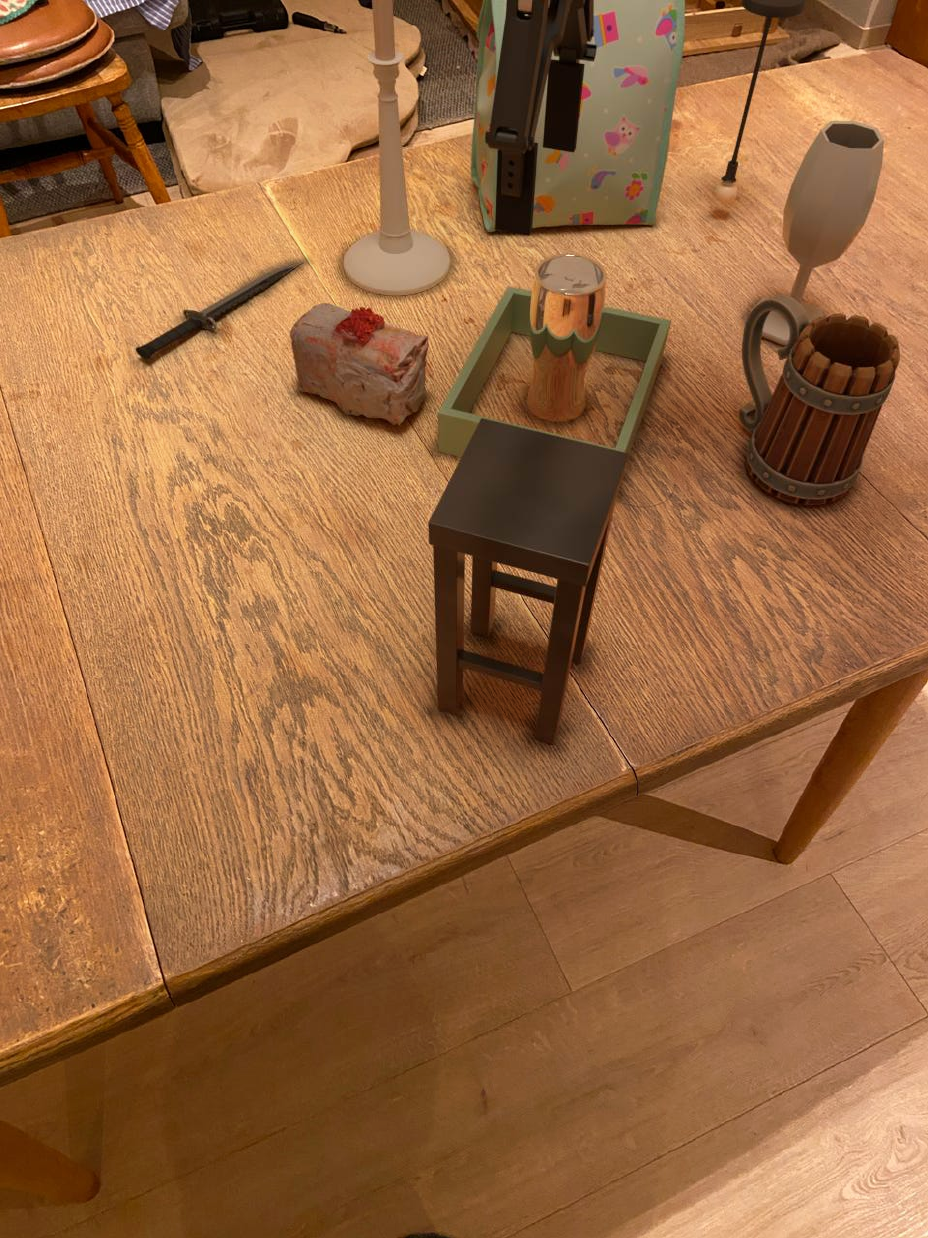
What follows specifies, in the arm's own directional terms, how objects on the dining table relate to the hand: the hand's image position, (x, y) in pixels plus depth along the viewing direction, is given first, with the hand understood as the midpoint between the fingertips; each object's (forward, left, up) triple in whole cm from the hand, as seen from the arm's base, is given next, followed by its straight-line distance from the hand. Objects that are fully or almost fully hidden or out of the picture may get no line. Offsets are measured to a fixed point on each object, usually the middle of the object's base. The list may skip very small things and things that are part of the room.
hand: (537, 187), depth 72 cm
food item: (+16, +2, -25) cm, 30 cm away
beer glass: (-3, -4, -25) cm, 25 cm away
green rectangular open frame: (-3, -4, -25) cm, 25 cm away
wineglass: (-24, -26, -25) cm, 43 cm away
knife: (+37, -7, -25) cm, 45 cm away
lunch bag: (+7, -42, -25) cm, 50 cm away
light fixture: (-13, -46, -25) cm, 54 cm away
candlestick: (+22, -22, -25) cm, 40 cm away
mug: (-26, -4, -25) cm, 36 cm away
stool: (-9, +30, -25) cm, 40 cm away
